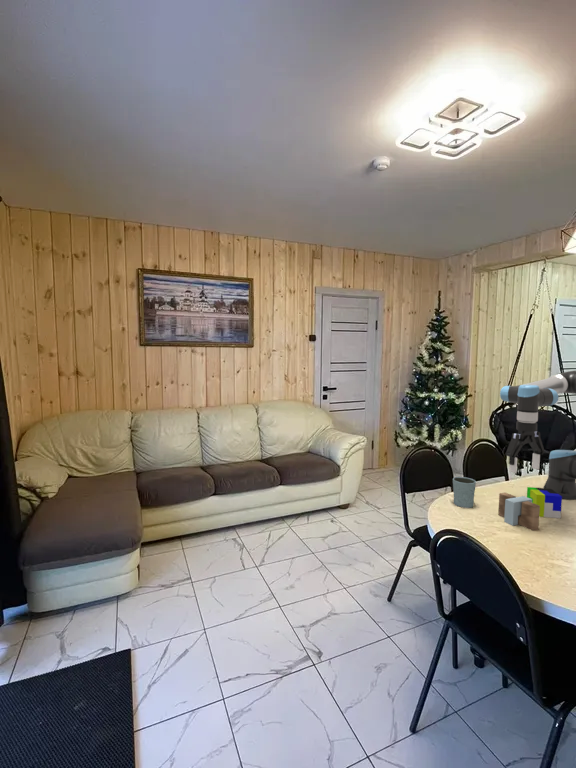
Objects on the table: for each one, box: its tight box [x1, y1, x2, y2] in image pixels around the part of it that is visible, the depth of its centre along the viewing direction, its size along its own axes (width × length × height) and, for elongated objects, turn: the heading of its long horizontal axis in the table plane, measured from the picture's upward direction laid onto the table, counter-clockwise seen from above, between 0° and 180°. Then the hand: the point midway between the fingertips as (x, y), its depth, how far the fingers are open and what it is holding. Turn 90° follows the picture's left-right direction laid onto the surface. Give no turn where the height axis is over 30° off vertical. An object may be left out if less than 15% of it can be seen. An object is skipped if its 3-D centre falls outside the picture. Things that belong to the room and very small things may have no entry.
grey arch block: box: [503, 495, 532, 527], centre depth 162 cm, size 11×4×10 cm, turn 111°
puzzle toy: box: [526, 486, 563, 519], centre depth 172 cm, size 10×10×10 cm
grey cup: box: [452, 476, 477, 509], centre depth 181 cm, size 10×10×12 cm
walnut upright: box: [497, 492, 540, 531], centre depth 162 cm, size 16×4×10 cm, turn 21°
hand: (524, 470), depth 161 cm, fingers open, 13 cm apart
